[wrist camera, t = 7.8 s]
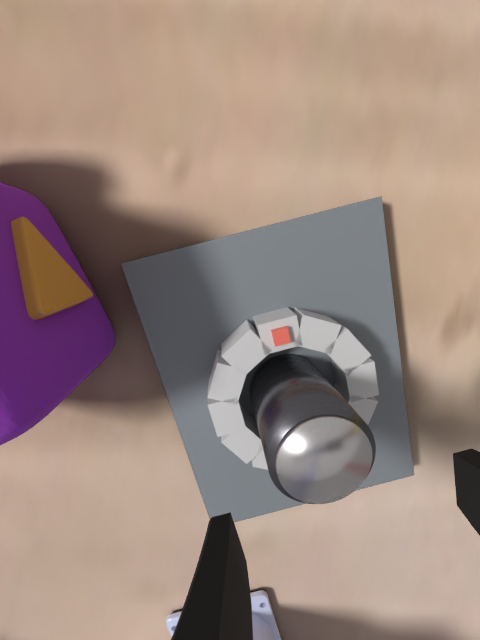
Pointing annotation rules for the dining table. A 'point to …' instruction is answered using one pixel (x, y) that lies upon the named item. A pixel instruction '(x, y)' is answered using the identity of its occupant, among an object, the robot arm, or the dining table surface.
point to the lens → (309, 432)
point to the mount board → (274, 341)
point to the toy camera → (42, 315)
